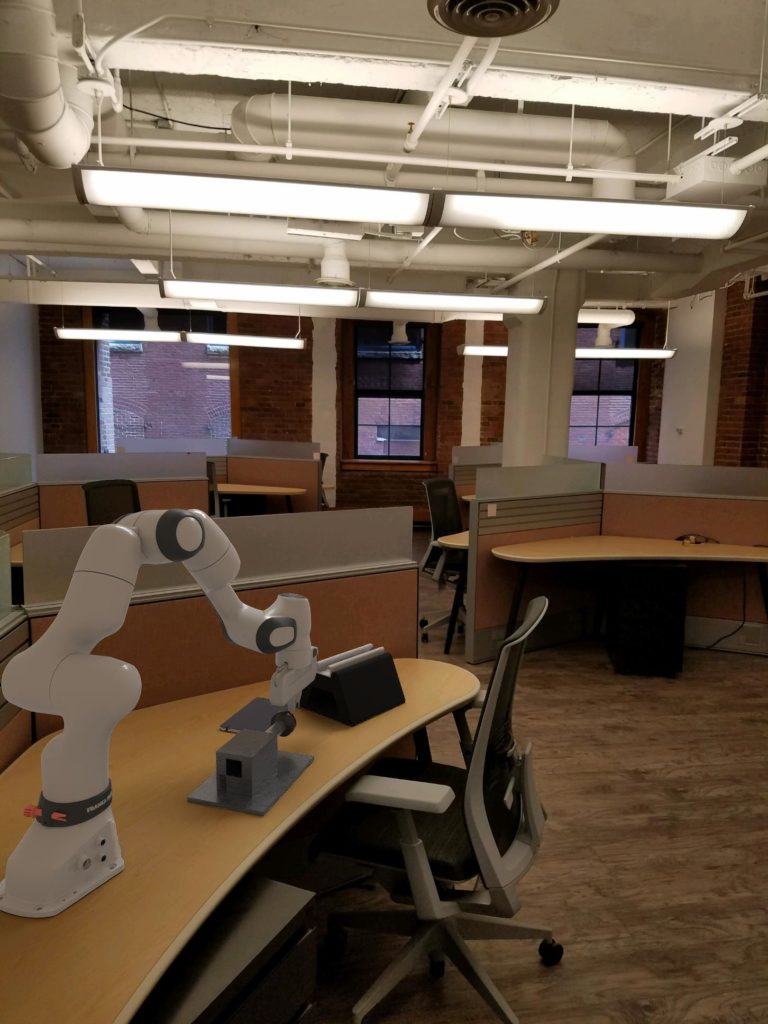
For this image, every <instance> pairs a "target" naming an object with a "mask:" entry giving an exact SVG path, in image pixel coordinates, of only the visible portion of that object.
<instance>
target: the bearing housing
mask: <svg viewBox="0 0 768 1024" xmlns="http://www.w3.org/2000/svg"><path fill="white" fill-rule="evenodd" d="M313 760H314V761H315V755H311V754H304V753H298V752H293V751H288V750H287V751H286V750H281V749H279V748H278V737H277V734H274V733H268V732H261V731H255V730H249V729H243V730H241V731H240V732H239V733H237V734H235V735H234V736H232V738H230V739H229V740H228V741H226V742H225V743H224V744H223V745H222V746H220V747H219V748H218V749H217V750H215V772H214V773H213V774H211V775H210V777H208V778H207V779H206V780H205V781H203V783H201V784H200V785H199V786H198V787H196V789H195V790H193V792H191V793H190V794H188V796H186V797H187V798H186V800H187V801H186V802H189V803H194V804H198V805H202V806H203V805H204V806H208V807H213V808H219V809H224V810H229V811H235V812H240V813H244V814H250V815H254V814H255V816H259V815H260V816H259V817H264V816H265V815H266V814H267V813H268V812H269V811H270V810H271V809H272V808H273V807H274V805H275V804H276V803H277V802H278V801H279V800H280V799H281V798H282V797H283V796H284V794H286V792H287V791H288V790H289V789H290V788H291V786H292V785H293V784H294V783H295V782H296V781H297V780H298V779H299V777H300V776H301V775H303V773H304V772H305V771H306V770H305V769H306V768H307V769H308V767H309V766H310V765H311V764H312V763H313V762H314V761H313ZM241 761H242V762H241ZM312 761H313V762H312ZM311 762H312V763H311ZM304 770H305V771H304ZM297 778H298V779H297ZM296 779H297V780H296ZM288 788H289V789H288ZM280 797H281V798H280ZM279 798H280V799H279ZM271 807H272V808H271ZM270 808H271V809H270Z"/></svg>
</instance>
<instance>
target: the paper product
mask: <svg viewBox="0 0 768 1024" xmlns="http://www.w3.org/2000/svg"><path fill="white" fill-rule="evenodd" d="M281 710H287V711H288V704H287V703H286V704H285V705H284V706H276V705H272V704H271V703H270V698H265V697H255V698H253V699H252V700H251V701H250V702H248V703H247V704H246V705H244V706H243V707H241V709H239V710H237V712H235V713H234V714H233V715H232V716H230V717H229V718H228V719H226V720H225V721H224V722H223V723H221V724H220V725H219V727H220V730H221V731H224V730H226V731H225V732H230V731H231V733H237V734H238V733H239V732H240V731H241V730H243V729H249V730H255V731H261V732H265V731H266V730H267V729H268V728H270V727H271V719H272V717H273V716H274V715H275V714H276V713H277V712H279V711H281ZM289 712H290V711H289Z"/></svg>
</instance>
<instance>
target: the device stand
mask: <svg viewBox="0 0 768 1024" xmlns="http://www.w3.org/2000/svg"><path fill="white" fill-rule="evenodd" d="M373 648H374V644H372V643H367V644H364V645H363V646H359V647H356V648H353V649H350V650H348V651H344V652H342V653H338V654H336V655H332V656H330V657H328V658H324V659H321V660H318V661H317V667H316V676H315V679H314V681H312V682H311V683H310V684H309V685H308V686H306V687H305V688H304V689H303V690H302V694H301V698H300V701H299V708H301V709H304V710H307V711H310V712H311V713H312V712H313V713H315V714H317V715H320V716H323V717H325V718H328V719H330V720H333V721H336V722H338V723H341V724H343V725H345V726H348V727H350V728H351V727H352V728H353V727H355V726H358V725H359V724H362V723H364V722H366V721H367V720H370V719H373V718H375V717H376V716H378V715H381V714H383V713H385V712H387V711H389V710H391V709H394V708H395V707H398V706H400V705H403V704H404V703H406V697H405V696H406V695H405V694H404V690H403V687H402V684H401V680H400V678H399V673H398V670H397V668H396V664H395V661H394V657H393V655H392V653H391V652H385V647H384V646H380V647H378V648H374V649H373Z"/></svg>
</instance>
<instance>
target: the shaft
mask: <svg viewBox="0 0 768 1024" xmlns="http://www.w3.org/2000/svg"><path fill="white" fill-rule="evenodd" d="M296 728H297V719H296V716H295V715H294V714H293V712H289V711H287V710H281V711H279V712H277V713H276V714H275V715H274V716H273V717H272V719H271V727H270V728H268V729H267V730H266V731H265V732H268V733H274V734H277V738H279V737H281V738H286V737H288V736H290V735H291V734H293V732H294V731H295V730H296ZM241 762H242V761H241Z"/></svg>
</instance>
